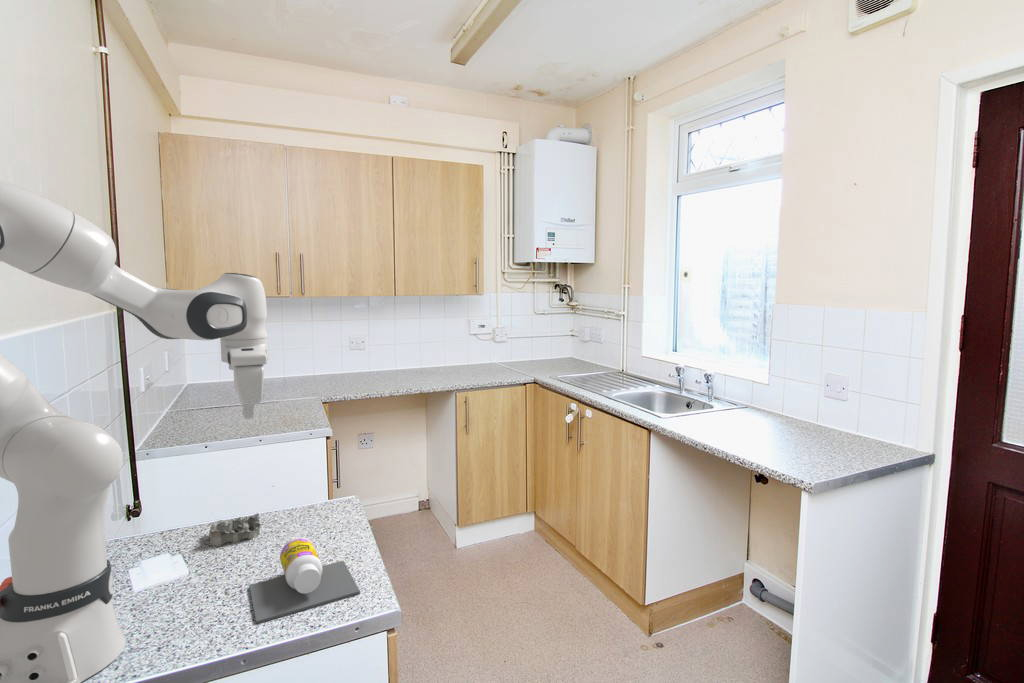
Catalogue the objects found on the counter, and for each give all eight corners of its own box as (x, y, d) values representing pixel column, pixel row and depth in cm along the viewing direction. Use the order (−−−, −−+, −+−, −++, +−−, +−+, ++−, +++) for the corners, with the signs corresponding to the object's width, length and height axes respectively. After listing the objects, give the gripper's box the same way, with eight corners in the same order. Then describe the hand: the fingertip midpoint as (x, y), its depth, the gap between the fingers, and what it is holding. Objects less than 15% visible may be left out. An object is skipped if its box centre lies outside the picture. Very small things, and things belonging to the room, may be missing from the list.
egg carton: (208, 549, 118) (206, 532, 117) (211, 535, 124) (210, 518, 124) (260, 539, 122) (259, 523, 122) (261, 526, 129) (260, 510, 128)
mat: (256, 624, 91) (256, 621, 91) (249, 587, 102) (249, 584, 102) (359, 593, 101) (359, 591, 101) (343, 562, 112) (343, 560, 112)
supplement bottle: (309, 530, 110) (322, 557, 99) (316, 558, 111) (330, 588, 100) (275, 544, 106) (285, 574, 95) (283, 573, 108) (294, 605, 97)
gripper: (225, 347, 116) (228, 408, 118) (231, 358, 99) (234, 430, 100) (256, 346, 119) (259, 405, 121) (267, 356, 102) (270, 426, 103)
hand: (248, 417), depth 110 cm, fingers closed
